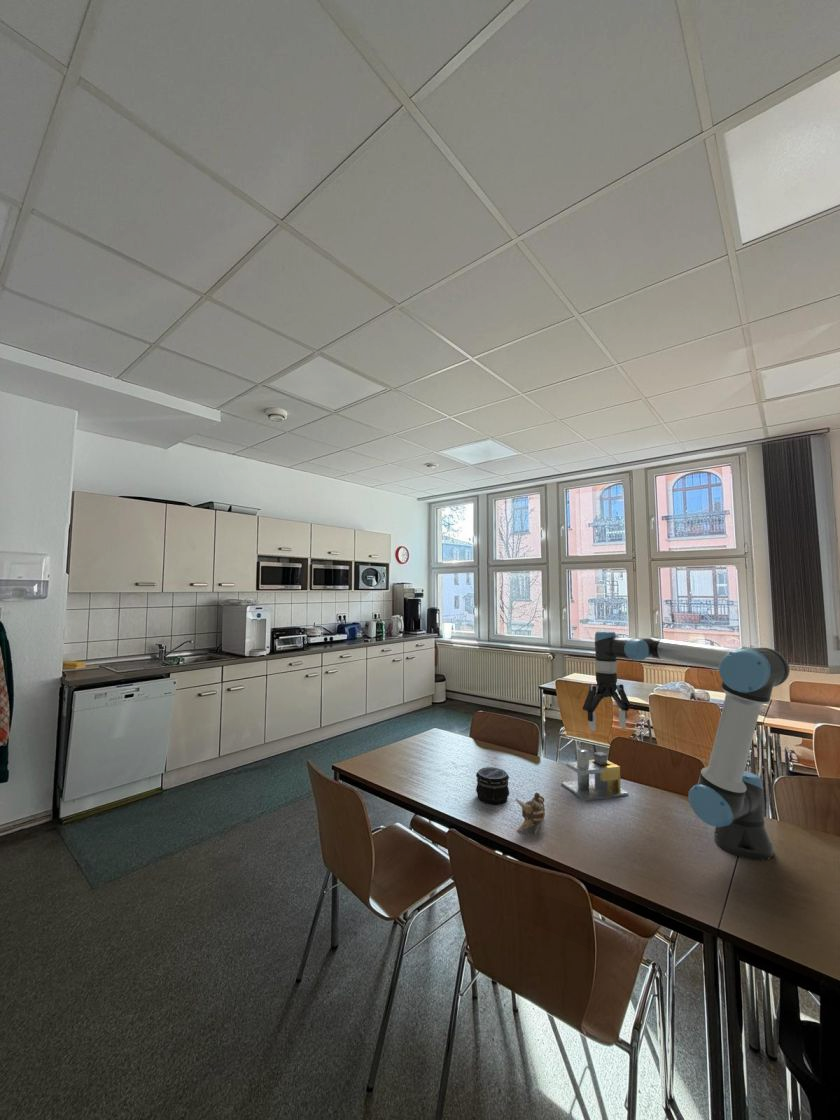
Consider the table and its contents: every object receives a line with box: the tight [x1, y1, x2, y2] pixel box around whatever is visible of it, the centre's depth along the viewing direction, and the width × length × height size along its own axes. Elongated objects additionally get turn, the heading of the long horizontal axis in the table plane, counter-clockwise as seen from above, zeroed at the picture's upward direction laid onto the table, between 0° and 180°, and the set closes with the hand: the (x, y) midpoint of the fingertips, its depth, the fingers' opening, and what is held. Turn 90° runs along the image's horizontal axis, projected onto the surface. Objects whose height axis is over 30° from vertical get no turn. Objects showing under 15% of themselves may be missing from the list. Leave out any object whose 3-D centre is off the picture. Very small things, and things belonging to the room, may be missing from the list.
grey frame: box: [560, 748, 629, 802], centre depth 184 cm, size 16×20×16 cm
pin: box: [593, 751, 608, 788], centre depth 185 cm, size 4×4×13 cm
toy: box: [514, 792, 546, 835], centre depth 154 cm, size 11×8×15 cm
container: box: [475, 766, 510, 806], centre depth 174 cm, size 13×13×10 cm
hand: (607, 728), depth 170 cm, fingers open, 13 cm apart
